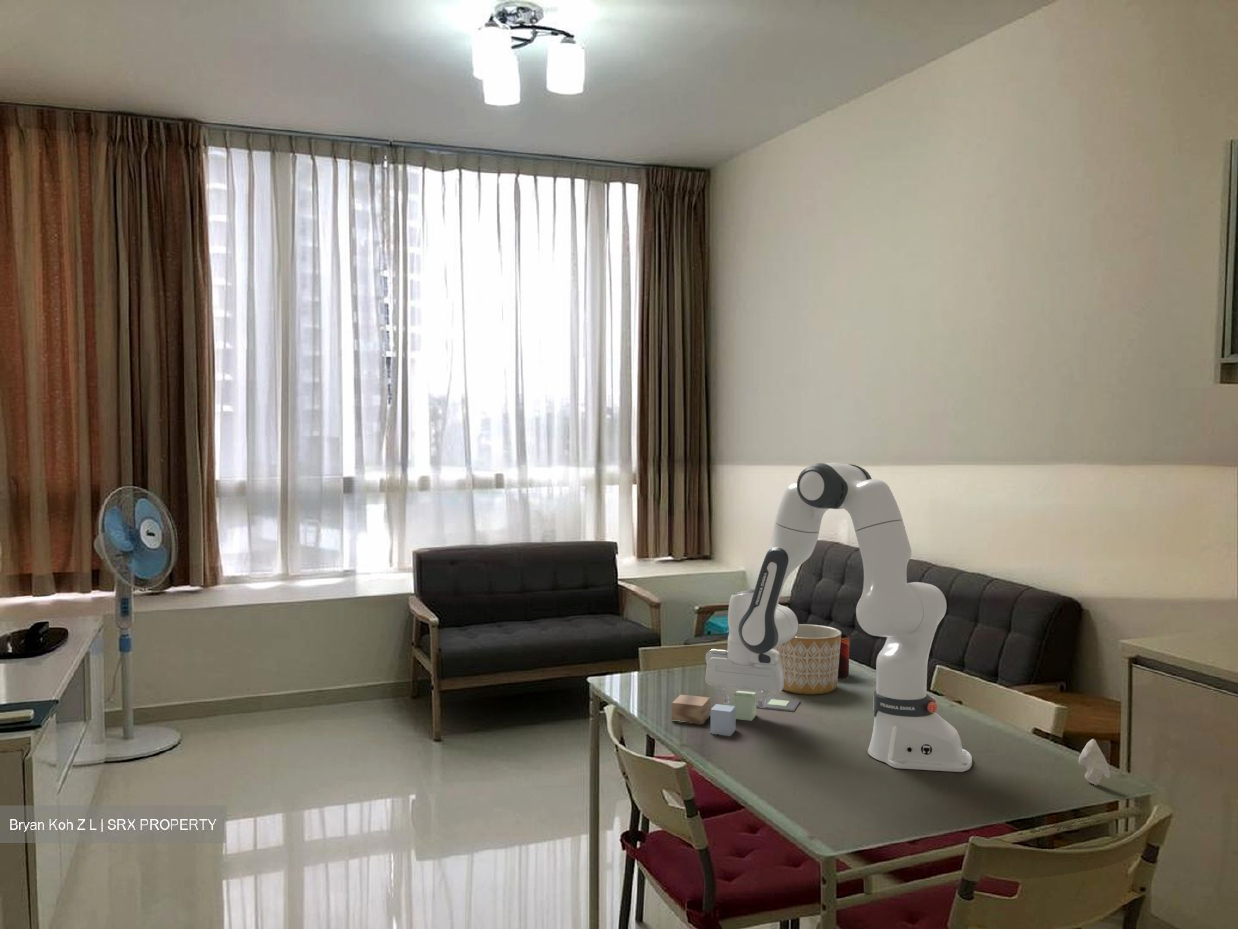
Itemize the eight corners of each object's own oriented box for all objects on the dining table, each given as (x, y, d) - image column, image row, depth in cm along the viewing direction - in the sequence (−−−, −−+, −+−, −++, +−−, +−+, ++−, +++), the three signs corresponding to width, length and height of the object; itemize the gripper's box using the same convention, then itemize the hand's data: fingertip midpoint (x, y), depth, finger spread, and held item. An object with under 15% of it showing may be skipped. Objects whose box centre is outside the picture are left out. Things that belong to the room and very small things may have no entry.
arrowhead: (1073, 779, 204) (1074, 733, 203) (1082, 778, 205) (1083, 731, 204) (1104, 793, 196) (1105, 744, 196) (1114, 791, 197) (1115, 743, 197)
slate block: (735, 730, 237) (735, 706, 237) (730, 736, 232) (730, 711, 232) (715, 728, 239) (715, 704, 239) (710, 734, 234) (710, 709, 234)
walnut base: (710, 716, 249) (710, 697, 249) (702, 725, 241) (702, 706, 241) (680, 713, 252) (680, 694, 251) (671, 722, 244) (671, 702, 244)
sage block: (756, 715, 249) (756, 692, 249) (751, 720, 245) (751, 697, 245) (737, 713, 251) (737, 690, 251) (732, 718, 247) (732, 695, 246)
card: (800, 701, 262) (800, 699, 262) (793, 711, 252) (793, 709, 252) (764, 698, 265) (764, 695, 265) (756, 707, 256) (756, 705, 256)
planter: (767, 679, 286) (768, 624, 285) (832, 679, 286) (833, 624, 285) (778, 697, 267) (778, 638, 266) (847, 697, 266) (848, 638, 266)
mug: (837, 667, 300) (837, 629, 300) (853, 678, 286) (854, 638, 286) (807, 668, 299) (807, 630, 298) (822, 679, 285) (823, 639, 285)
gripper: (702, 651, 248) (701, 703, 249) (780, 658, 241) (780, 713, 242) (709, 645, 254) (708, 697, 255) (785, 653, 247) (785, 706, 248)
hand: (743, 705), depth 248 cm, fingers open, 8 cm apart
